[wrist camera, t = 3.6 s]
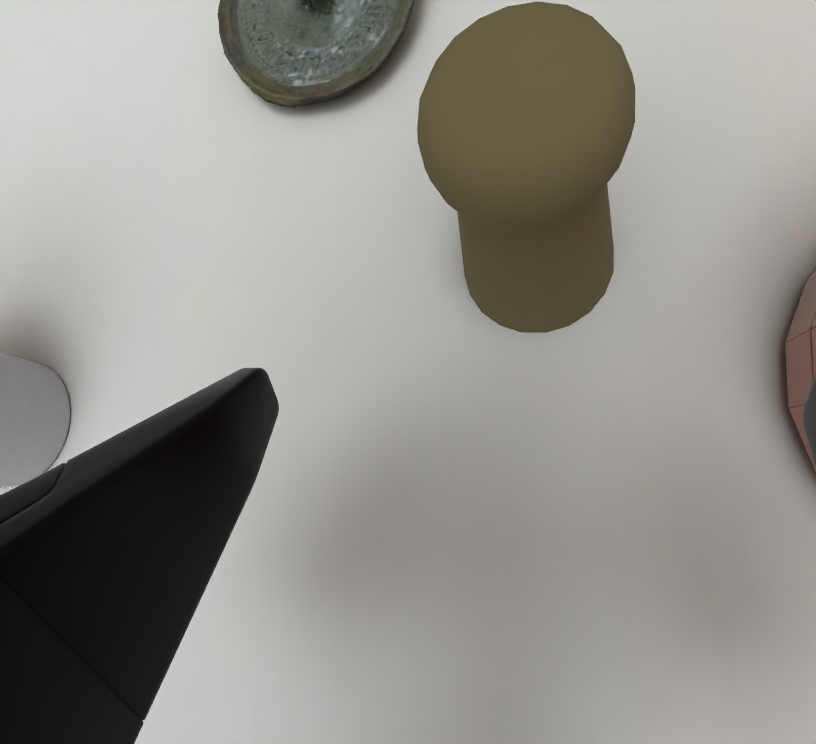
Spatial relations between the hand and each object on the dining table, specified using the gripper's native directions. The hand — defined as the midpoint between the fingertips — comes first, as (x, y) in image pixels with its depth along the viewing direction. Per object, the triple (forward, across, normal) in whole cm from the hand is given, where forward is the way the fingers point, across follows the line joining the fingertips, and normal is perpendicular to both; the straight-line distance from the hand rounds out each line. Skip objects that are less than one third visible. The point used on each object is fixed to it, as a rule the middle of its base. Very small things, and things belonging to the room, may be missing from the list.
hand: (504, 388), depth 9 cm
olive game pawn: (+14, 0, +4) cm, 14 cm away
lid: (+23, +10, -6) cm, 26 cm away
